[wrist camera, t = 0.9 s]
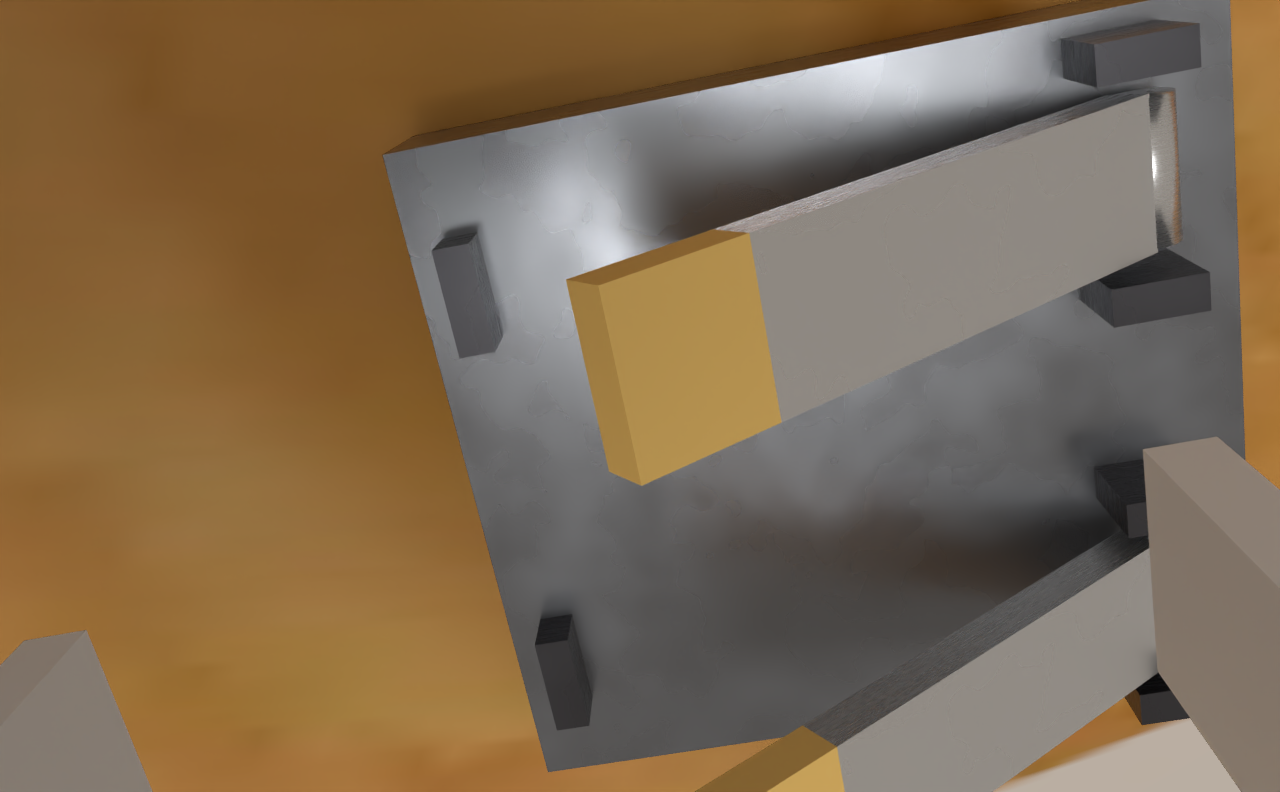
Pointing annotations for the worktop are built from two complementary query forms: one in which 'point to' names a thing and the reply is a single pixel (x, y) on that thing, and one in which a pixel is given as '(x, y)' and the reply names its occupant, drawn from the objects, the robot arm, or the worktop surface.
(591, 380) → the strap
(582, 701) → the clamp block
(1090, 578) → the strap
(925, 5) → the worktop surface
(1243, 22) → the worktop surface
